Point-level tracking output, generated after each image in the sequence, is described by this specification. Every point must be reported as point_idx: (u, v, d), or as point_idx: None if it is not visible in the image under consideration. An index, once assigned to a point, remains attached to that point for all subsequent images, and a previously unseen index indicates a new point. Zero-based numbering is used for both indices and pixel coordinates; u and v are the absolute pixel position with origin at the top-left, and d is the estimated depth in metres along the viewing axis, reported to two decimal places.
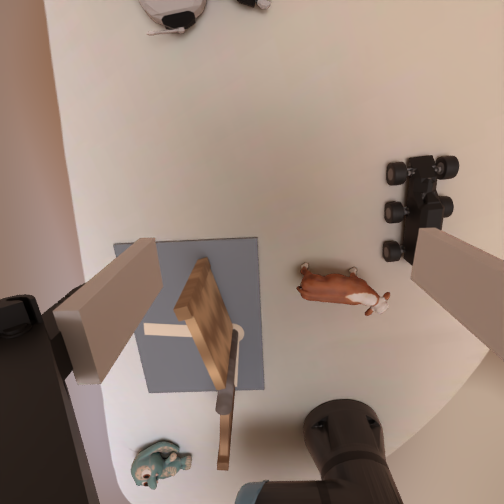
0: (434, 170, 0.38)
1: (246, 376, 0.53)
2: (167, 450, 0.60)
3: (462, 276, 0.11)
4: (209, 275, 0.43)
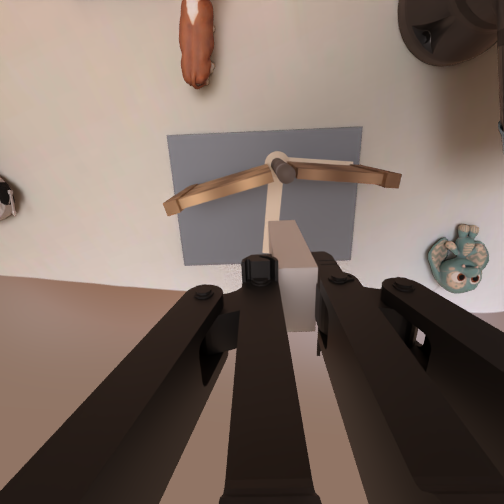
0: None
1: (339, 149, 0.45)
2: (441, 251, 0.50)
3: None
4: (200, 184, 0.45)
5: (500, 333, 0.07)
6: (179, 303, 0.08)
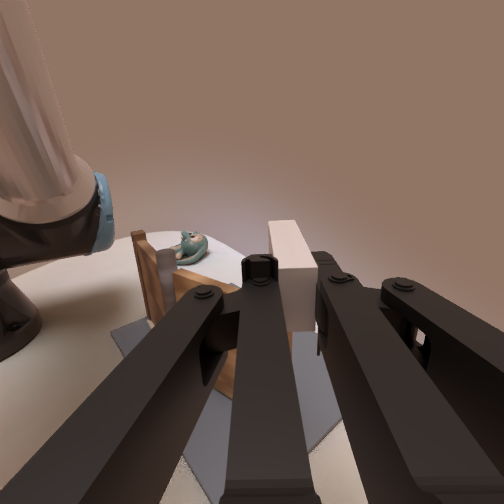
0: None
1: (139, 333, 0.41)
2: (186, 258, 0.65)
3: None
4: None
5: (500, 333, 0.07)
6: (179, 303, 0.08)
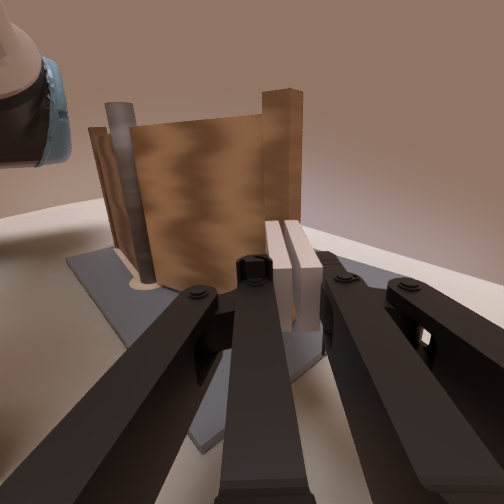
0: None
1: (102, 258, 0.33)
2: None
3: (291, 258, 0.13)
4: None
5: None
6: (173, 303, 0.08)
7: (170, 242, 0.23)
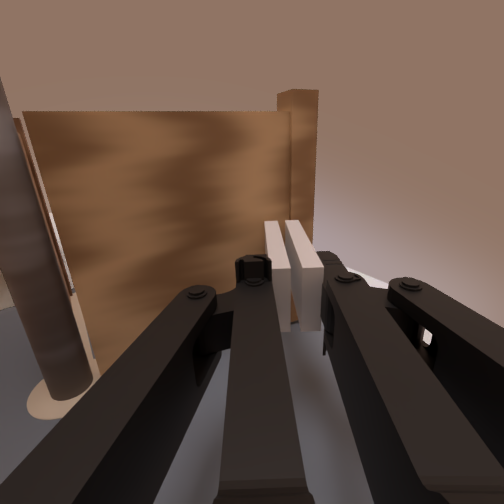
0: None
1: (19, 322, 0.21)
2: None
3: (291, 258, 0.13)
4: None
5: None
6: (172, 304, 0.08)
7: (139, 297, 0.15)
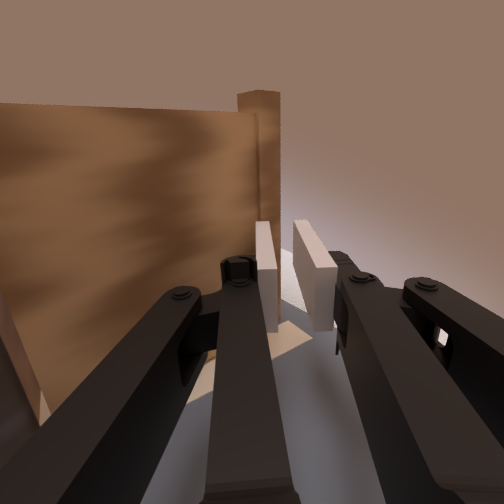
0: None
1: None
2: None
3: (302, 258, 0.13)
4: None
5: None
6: (156, 305, 0.08)
7: (107, 333, 0.12)
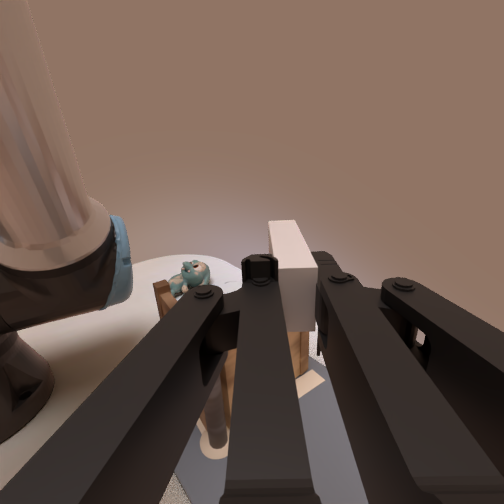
0: None
1: None
2: None
3: None
4: (296, 366, 0.37)
5: (500, 333, 0.07)
6: (179, 303, 0.08)
7: None
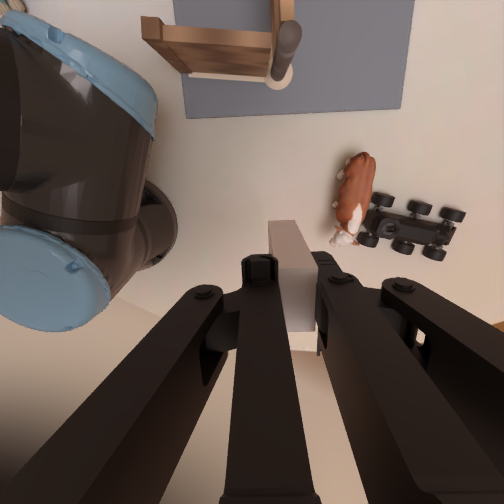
0: (444, 243, 0.45)
1: (207, 91, 0.39)
2: None
3: None
4: None
5: (500, 333, 0.07)
6: (179, 303, 0.08)
7: None
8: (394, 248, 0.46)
